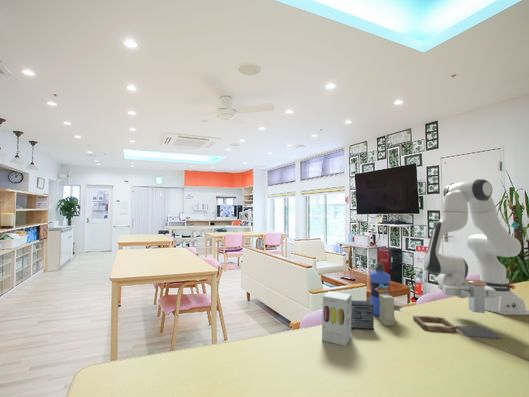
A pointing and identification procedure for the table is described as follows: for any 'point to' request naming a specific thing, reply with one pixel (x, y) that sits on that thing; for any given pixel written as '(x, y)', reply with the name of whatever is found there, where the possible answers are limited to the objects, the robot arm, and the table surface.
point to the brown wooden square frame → (446, 328)
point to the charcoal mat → (478, 332)
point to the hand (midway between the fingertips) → (477, 295)
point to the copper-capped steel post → (477, 296)
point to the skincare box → (386, 309)
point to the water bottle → (378, 286)
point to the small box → (362, 315)
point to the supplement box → (336, 318)
